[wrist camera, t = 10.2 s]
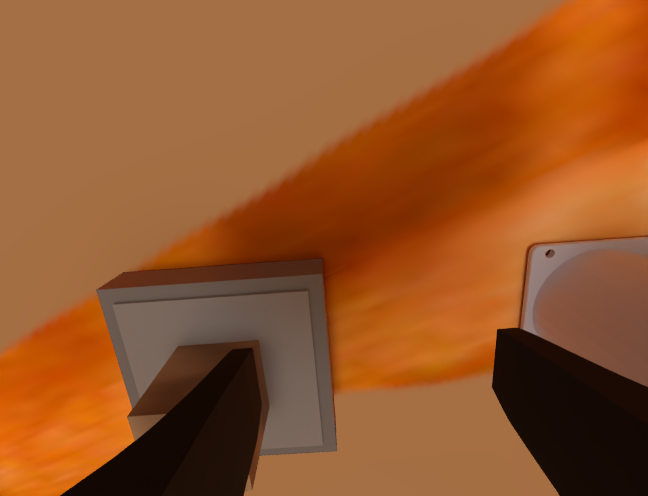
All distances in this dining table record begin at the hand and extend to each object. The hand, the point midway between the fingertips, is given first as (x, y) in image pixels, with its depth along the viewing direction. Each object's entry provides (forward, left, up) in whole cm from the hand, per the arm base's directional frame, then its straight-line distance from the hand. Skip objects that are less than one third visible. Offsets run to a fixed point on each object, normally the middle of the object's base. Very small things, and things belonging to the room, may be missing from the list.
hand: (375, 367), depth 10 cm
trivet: (+8, +6, -10) cm, 14 cm away
